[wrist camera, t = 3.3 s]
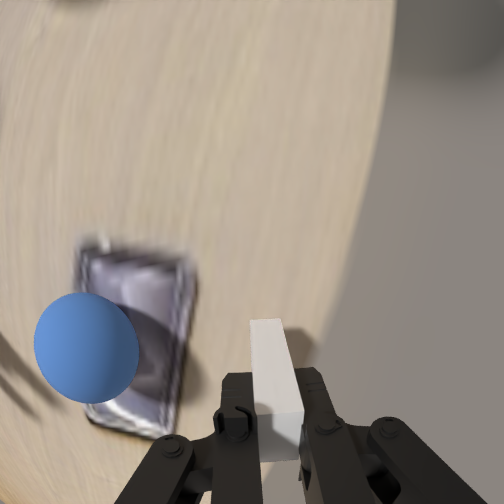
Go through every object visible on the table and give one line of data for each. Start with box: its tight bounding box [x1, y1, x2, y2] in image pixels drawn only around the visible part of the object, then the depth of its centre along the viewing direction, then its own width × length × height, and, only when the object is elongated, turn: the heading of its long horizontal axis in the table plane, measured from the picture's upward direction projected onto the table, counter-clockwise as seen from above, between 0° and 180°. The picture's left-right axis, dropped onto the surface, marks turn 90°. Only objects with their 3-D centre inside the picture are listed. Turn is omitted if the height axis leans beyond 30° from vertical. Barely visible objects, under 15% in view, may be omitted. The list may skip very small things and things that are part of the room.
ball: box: [34, 293, 139, 404], centre depth 13 cm, size 6×6×6 cm
